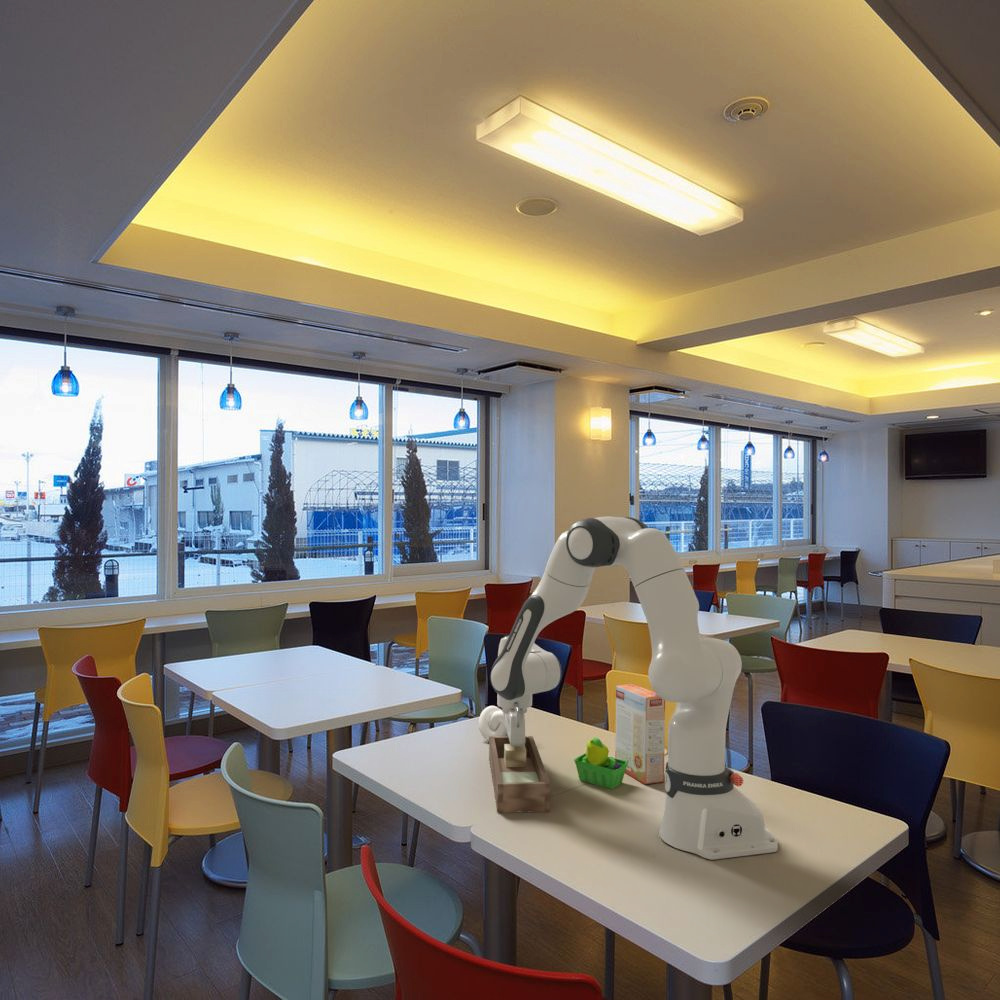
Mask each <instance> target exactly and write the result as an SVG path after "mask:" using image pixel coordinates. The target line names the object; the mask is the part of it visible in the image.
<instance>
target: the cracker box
mask: <svg viewBox="0 0 1000 1000" xmlns="http://www.w3.org/2000/svg"><path fill="white" fill-rule="evenodd" d="M665 722H666V700H664V699H662V698H660V697H659V696H658V695H657V694H656V693H655V692H654V690H650V689H648V688H645V687H642V686H640V685H637V684H634V683H627V684H618V685H616V686H615V737H614V738H615V739H614V740H615V743H614V745H615V747H614V748H615V750H614V751H615V756H614V758H615V759H620V760H624V761H627V762H628V765H627V767H626V770H625V773H624V774H627V775H629V776H630V777H632V778H633V779H636V780H637V781H639V782H641V783H642V784H643V785H648V784H649V785H650V784H658V783H665V742H666V741H665V739H666V737H665V736H666V735H665V733H666V731H665V730H666V728H665V726H666V725H665V724H666V723H665Z"/></svg>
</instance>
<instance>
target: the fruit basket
mask: <svg viewBox="0 0 1000 1000" xmlns="http://www.w3.org/2000/svg"><path fill="white" fill-rule="evenodd" d="M585 751H586V752H585V753H583V754H581V755H579V756H577V757H575V758H574V759H573V761H574V764H575V767H576V771H577V774H578V779H579V781H581V780H583V781H582V782H585V781H587V783H588V782H590V783H589V784H592V783H594V784H593V785H596V784H597V786H599V785H600V787H603V786H605V787H604V788H607V789H611V790H612V789H614V788H616V787H617V785H618V786H619V785H620V783H621V784H622V783H623V781H624V777H625V776H624V775H625V774H626V773H625V770H626V767H627V765H628V762H627V761H624V760H620V759H615V757H613V756H609V752H610V751H609V748H608V747H607V745H605V744H604V743H603V742H602V741H601V740H600V739H599V738H598V737H593V738H591V739H590V740H589V741H588V742H587V743H586V750H585Z"/></svg>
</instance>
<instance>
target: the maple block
mask: <svg viewBox="0 0 1000 1000" xmlns="http://www.w3.org/2000/svg"><path fill="white" fill-rule="evenodd" d="M504 762H505V767H526V748H525V745H524V746H511V745H510V744H504Z"/></svg>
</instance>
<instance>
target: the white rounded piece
mask: <svg viewBox="0 0 1000 1000" xmlns="http://www.w3.org/2000/svg"><path fill="white" fill-rule="evenodd" d="M478 727H479V728H478V729H479V731H480V734H481V736H482V737H483V739H484V740H486V741H487V742H489V737H494V736H508V734H507V730H506V725H505V721H504V713H503V712H502V708H501V707H499V706H495V705H489V706H487V707H485V708H484V709H482V711H481V712H480V715H479V719H478Z"/></svg>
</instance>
